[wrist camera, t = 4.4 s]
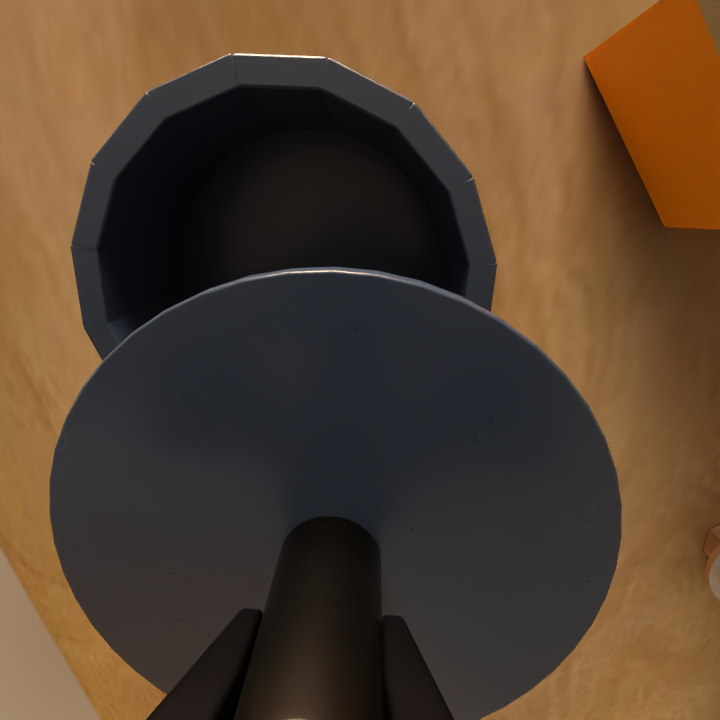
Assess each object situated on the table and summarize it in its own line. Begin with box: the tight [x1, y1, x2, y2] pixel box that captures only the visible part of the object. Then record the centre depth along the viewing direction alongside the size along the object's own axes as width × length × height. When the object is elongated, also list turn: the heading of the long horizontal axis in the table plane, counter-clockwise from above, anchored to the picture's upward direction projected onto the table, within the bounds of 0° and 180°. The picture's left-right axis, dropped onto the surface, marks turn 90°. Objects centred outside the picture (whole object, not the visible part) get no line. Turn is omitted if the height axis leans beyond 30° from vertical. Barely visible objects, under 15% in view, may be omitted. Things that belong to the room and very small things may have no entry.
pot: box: [71, 53, 497, 360], centre depth 17 cm, size 13×13×6 cm
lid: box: [50, 267, 622, 720], centre depth 9 cm, size 14×14×6 cm
